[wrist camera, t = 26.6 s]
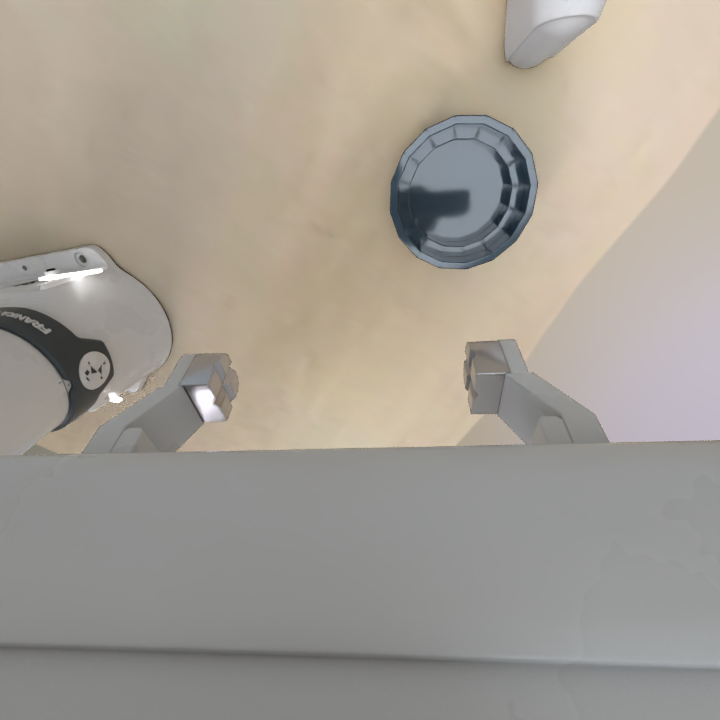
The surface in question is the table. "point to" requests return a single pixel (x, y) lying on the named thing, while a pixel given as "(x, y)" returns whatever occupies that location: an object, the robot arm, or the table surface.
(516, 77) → the table surface
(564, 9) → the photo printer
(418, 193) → the bowl
